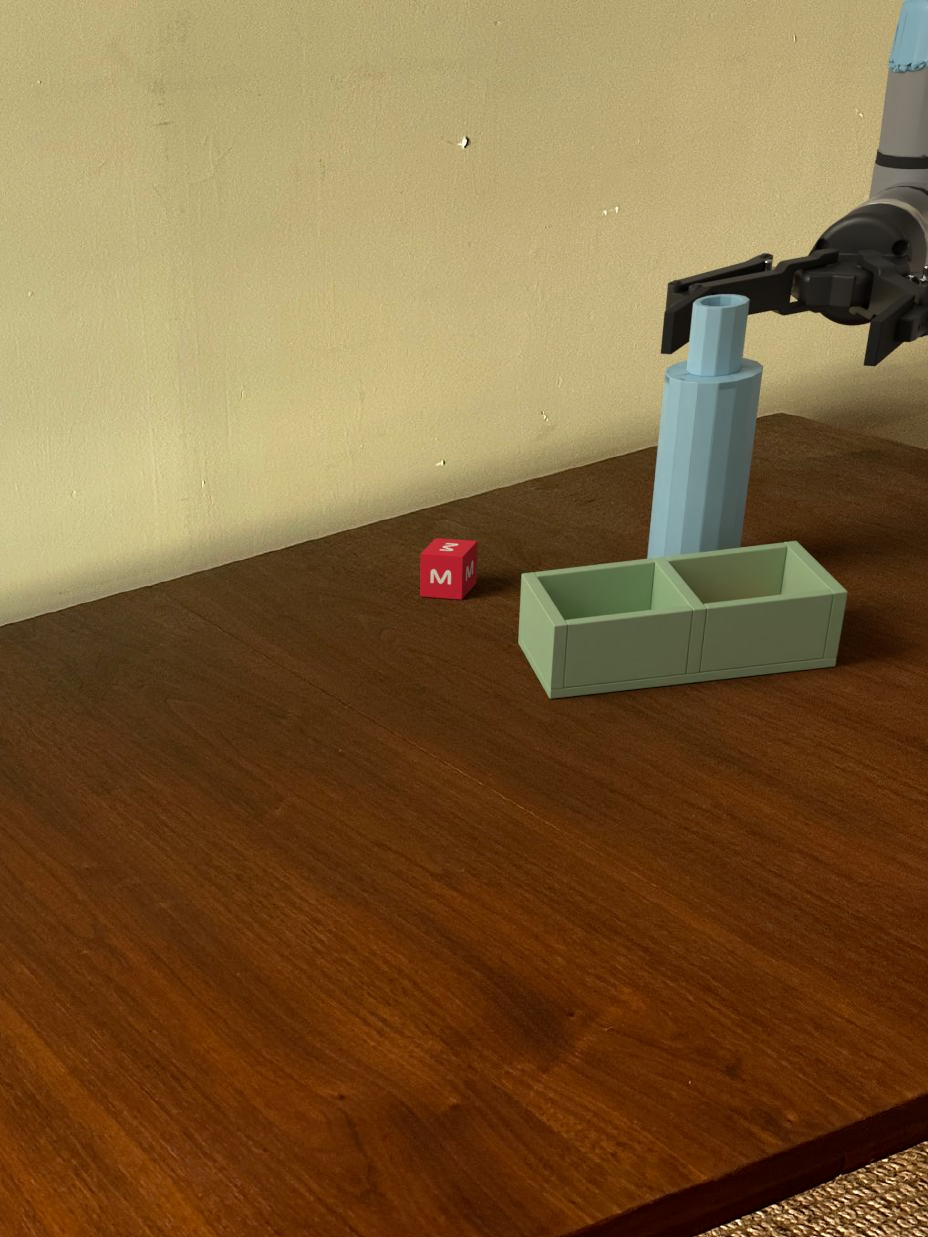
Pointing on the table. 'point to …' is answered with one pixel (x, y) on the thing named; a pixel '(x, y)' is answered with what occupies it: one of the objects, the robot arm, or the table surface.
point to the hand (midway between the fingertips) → (766, 338)
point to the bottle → (706, 435)
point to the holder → (680, 619)
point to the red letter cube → (448, 568)
